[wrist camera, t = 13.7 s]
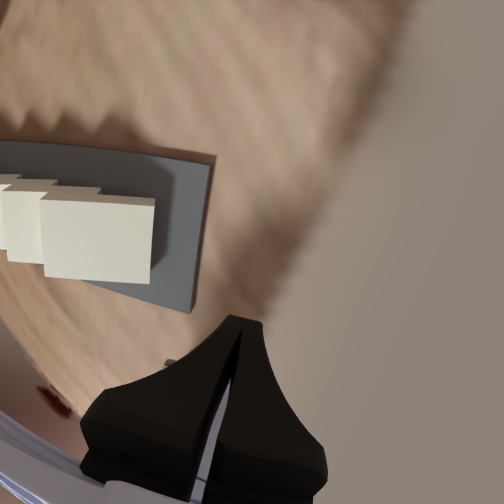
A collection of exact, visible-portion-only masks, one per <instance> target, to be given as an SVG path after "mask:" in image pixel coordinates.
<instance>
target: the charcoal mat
mask: <svg viewBox="0 0 504 504" xmlns="http://www.w3.org/2000/svg"><path fill="white" fill-rule="evenodd" d="M211 168H212V165H210V164H204V163H199V162H193V161H187V160H181V159H175V158H169V157H163V156H156V155H150V154H143V153H136V152H128V151H121V150H113V149H104V148H96V147H86V146H76V145H66V144H54V143H41V142H25V141H5V140H0V174H22V179H48V180H58V186H77V187H98V188H101V195H116V196H130V197H144V198H155V208H154V219H153V231H152V245H151V261H150V282H149V284H139V283H123V282H108V281H94V280H82V281H85V282H88V283H91V284H94V285H97V286H99V287H102V288H105V289H108V290H111V291H114V292H118V293H121V294H124V295H127V296H130V297H133V298H136V299H140V300H143V301H146V302H149V303H153V304H156V305H159V306H163V307H166V308H170V309H173V310H176V311H180V312H184V313H187V314H190V313H191V311H192V305H193V296H194V287H195V279H196V271H197V263H198V255H199V248H200V240H201V233H202V226H203V219H204V212H205V206H206V199H207V193H208V186H209V180H210V174H211ZM4 251H6V252H7V250H4ZM36 264H38V263H36ZM39 265H41V266H44V264H39ZM79 280H81V279H79Z"/></svg>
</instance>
